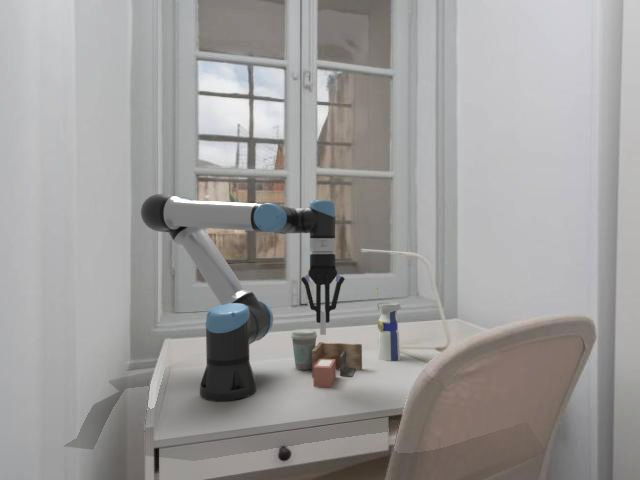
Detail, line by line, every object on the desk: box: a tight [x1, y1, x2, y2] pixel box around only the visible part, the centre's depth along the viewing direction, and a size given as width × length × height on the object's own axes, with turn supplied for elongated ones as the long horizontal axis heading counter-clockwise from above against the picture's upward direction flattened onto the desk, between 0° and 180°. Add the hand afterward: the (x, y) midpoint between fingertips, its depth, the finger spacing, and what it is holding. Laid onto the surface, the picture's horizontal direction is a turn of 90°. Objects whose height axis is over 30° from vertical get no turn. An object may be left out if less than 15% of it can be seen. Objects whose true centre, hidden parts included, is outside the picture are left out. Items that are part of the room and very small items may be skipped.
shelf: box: [311, 341, 363, 378], centre depth 128 cm, size 14×11×8 cm
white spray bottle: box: [375, 289, 402, 362], centre depth 144 cm, size 8×9×25 cm
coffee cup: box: [291, 328, 318, 371], centre depth 134 cm, size 8×8×12 cm
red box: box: [313, 359, 337, 388], centre depth 120 cm, size 5×9×6 cm, turn 169°
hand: (322, 333), depth 119 cm, fingers closed
